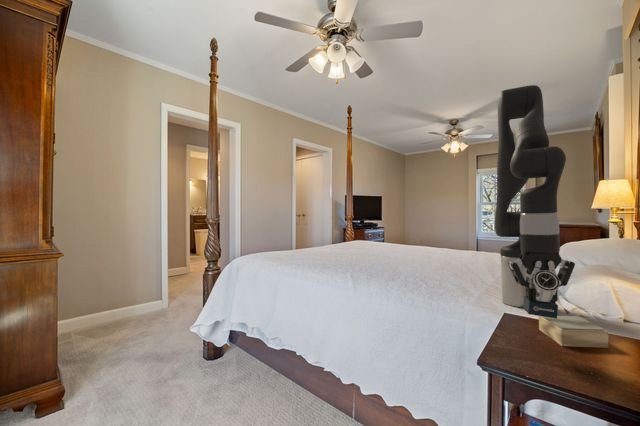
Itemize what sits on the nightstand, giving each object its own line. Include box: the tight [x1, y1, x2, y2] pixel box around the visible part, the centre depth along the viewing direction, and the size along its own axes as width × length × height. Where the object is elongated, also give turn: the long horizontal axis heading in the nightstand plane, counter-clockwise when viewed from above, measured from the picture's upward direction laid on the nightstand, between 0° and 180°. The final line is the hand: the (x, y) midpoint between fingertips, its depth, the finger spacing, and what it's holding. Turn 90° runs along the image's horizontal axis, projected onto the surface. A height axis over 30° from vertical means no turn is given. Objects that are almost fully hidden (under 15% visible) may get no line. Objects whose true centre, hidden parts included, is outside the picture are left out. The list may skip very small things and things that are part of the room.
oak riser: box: [538, 315, 609, 349], centre depth 76 cm, size 10×10×4 cm
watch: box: [522, 270, 561, 318], centre depth 69 cm, size 6×8×11 cm
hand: (541, 302), depth 70 cm, fingers closed on watch, 3 cm apart
